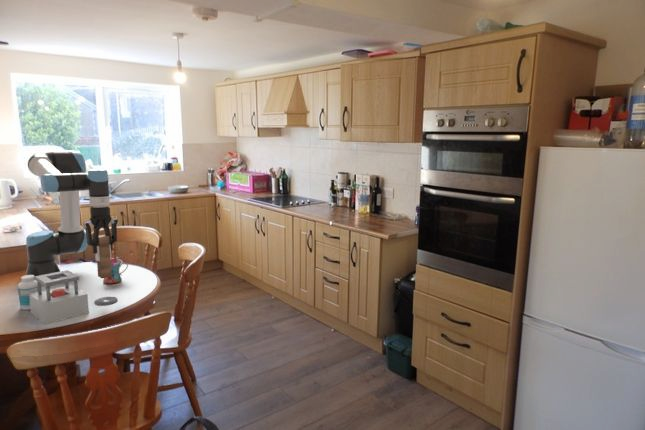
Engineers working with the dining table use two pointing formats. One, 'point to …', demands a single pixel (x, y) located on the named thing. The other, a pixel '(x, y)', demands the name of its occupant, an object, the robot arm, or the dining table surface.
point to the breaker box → (58, 298)
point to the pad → (105, 300)
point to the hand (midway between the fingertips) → (103, 259)
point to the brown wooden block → (104, 257)
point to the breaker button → (58, 293)
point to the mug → (114, 271)
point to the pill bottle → (26, 290)
